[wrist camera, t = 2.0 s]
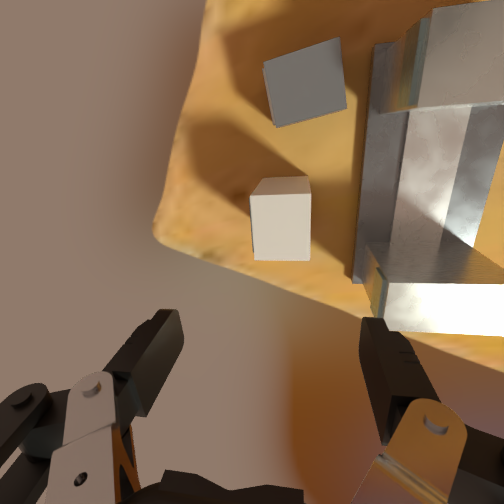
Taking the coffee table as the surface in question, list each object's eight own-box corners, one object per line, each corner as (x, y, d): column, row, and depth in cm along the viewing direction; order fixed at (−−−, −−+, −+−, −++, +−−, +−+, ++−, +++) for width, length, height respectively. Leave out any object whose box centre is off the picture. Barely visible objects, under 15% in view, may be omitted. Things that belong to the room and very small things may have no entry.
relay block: (266, 73, 26) (260, 63, 22) (332, 52, 25) (339, 36, 20) (277, 128, 28) (273, 128, 24) (338, 111, 27) (346, 108, 22)
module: (260, 177, 31) (246, 195, 22) (307, 175, 30) (311, 193, 22) (263, 227, 33) (252, 260, 25) (307, 227, 32) (309, 260, 24)
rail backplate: (372, 47, 24) (415, -1, 15) (527, 28, 22) (682, -40, 13) (350, 279, 34) (369, 333, 25) (457, 281, 32) (519, 341, 23)
